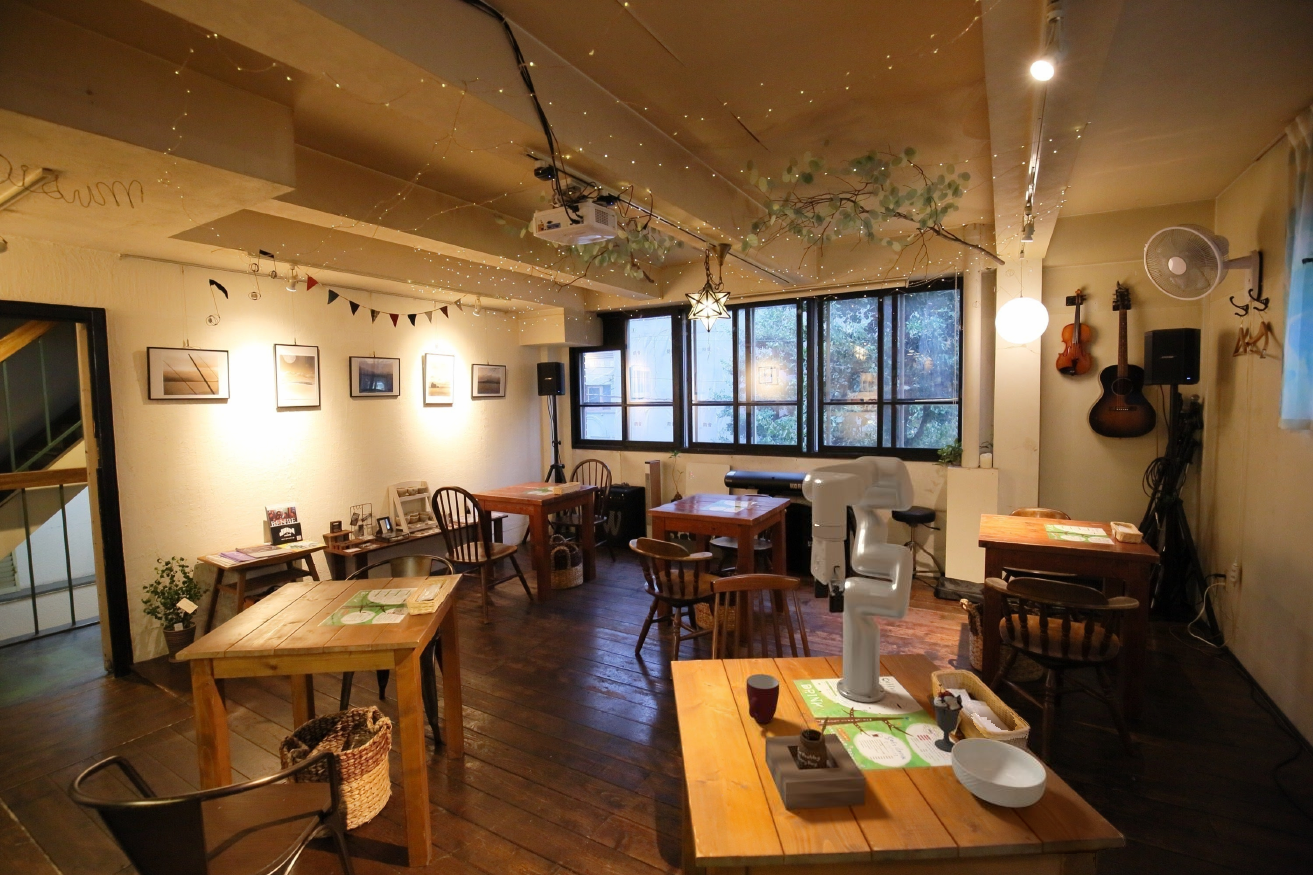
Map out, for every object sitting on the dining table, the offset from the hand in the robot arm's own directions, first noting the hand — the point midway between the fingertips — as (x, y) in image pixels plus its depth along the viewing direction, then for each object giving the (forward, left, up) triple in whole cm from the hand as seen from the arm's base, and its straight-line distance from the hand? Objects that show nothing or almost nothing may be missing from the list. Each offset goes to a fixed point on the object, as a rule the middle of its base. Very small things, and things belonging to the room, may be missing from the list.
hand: (828, 604), depth 139 cm
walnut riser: (+13, -8, -33) cm, 37 cm away
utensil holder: (+13, -8, -31) cm, 34 cm away
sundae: (+3, +27, -34) cm, 43 cm away
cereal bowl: (+20, +28, -34) cm, 48 cm away
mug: (-11, -13, -34) cm, 38 cm away
